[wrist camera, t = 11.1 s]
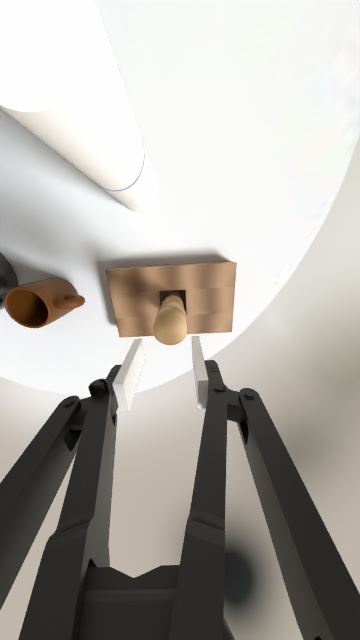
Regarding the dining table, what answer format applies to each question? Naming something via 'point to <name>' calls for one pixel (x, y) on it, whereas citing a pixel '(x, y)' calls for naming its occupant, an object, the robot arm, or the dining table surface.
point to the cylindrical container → (73, 94)
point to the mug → (41, 302)
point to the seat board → (196, 279)
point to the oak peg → (170, 320)
